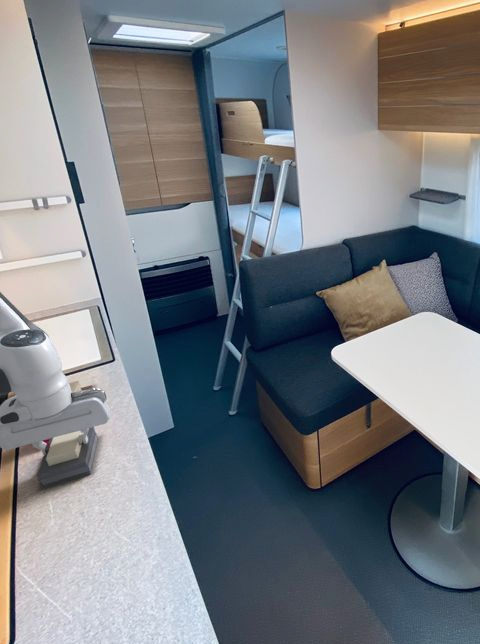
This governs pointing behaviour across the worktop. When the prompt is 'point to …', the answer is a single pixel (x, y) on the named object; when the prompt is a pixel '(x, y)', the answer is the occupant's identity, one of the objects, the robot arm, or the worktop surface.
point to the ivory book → (64, 448)
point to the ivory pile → (78, 387)
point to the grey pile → (69, 464)
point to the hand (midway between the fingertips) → (66, 447)
